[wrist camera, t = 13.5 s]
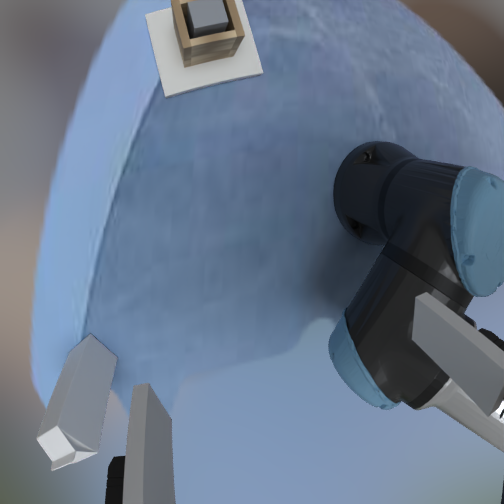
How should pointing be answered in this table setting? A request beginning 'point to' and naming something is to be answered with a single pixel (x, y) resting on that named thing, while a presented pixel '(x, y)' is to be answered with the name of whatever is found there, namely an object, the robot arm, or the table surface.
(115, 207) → the table surface
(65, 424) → the milk
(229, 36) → the collar
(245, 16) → the post board
